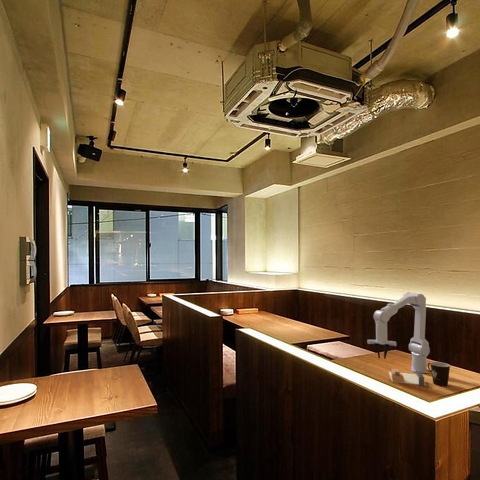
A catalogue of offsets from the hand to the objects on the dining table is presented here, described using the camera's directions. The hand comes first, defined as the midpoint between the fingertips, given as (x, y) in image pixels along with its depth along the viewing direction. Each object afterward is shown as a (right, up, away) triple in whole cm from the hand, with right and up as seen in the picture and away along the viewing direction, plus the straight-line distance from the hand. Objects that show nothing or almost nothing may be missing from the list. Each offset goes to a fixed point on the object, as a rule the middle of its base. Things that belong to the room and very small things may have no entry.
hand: (381, 358), depth 185 cm
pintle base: (+11, -9, -4) cm, 15 cm away
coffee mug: (+25, -9, -11) cm, 29 cm away
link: (+7, -9, -3) cm, 11 cm away
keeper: (+15, -9, -11) cm, 21 cm away
